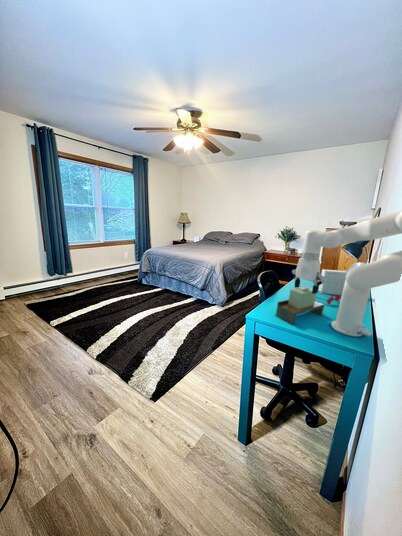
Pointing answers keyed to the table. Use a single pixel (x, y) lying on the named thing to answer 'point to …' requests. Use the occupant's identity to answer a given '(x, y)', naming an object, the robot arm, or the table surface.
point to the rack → (296, 310)
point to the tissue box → (301, 297)
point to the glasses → (331, 298)
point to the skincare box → (333, 282)
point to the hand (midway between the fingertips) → (305, 290)
